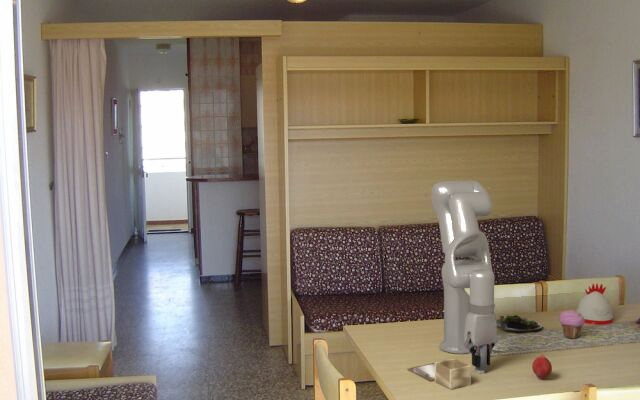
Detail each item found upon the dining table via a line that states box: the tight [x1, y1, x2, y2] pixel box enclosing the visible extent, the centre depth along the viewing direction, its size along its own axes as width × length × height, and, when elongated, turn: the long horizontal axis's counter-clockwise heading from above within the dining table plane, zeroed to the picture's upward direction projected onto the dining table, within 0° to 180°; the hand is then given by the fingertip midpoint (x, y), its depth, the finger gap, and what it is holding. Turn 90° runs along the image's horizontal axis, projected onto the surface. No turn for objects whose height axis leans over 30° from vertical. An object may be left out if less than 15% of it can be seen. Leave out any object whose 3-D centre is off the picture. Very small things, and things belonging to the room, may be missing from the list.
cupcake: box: [558, 310, 585, 339], centre depth 247 cm, size 9×9×10 cm
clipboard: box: [407, 359, 446, 383], centre depth 213 cm, size 16×12×1 cm
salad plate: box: [496, 314, 544, 334], centre depth 262 cm, size 19×18×5 cm
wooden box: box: [434, 358, 472, 391], centre depth 203 cm, size 8×8×6 cm
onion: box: [531, 353, 553, 380], centre depth 205 cm, size 6×6×8 cm
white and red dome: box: [576, 283, 614, 326], centre depth 269 cm, size 14×14×15 cm
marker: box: [474, 344, 488, 374], centre depth 212 cm, size 4×4×10 cm
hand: (480, 364), depth 212 cm, fingers closed on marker, 3 cm apart
